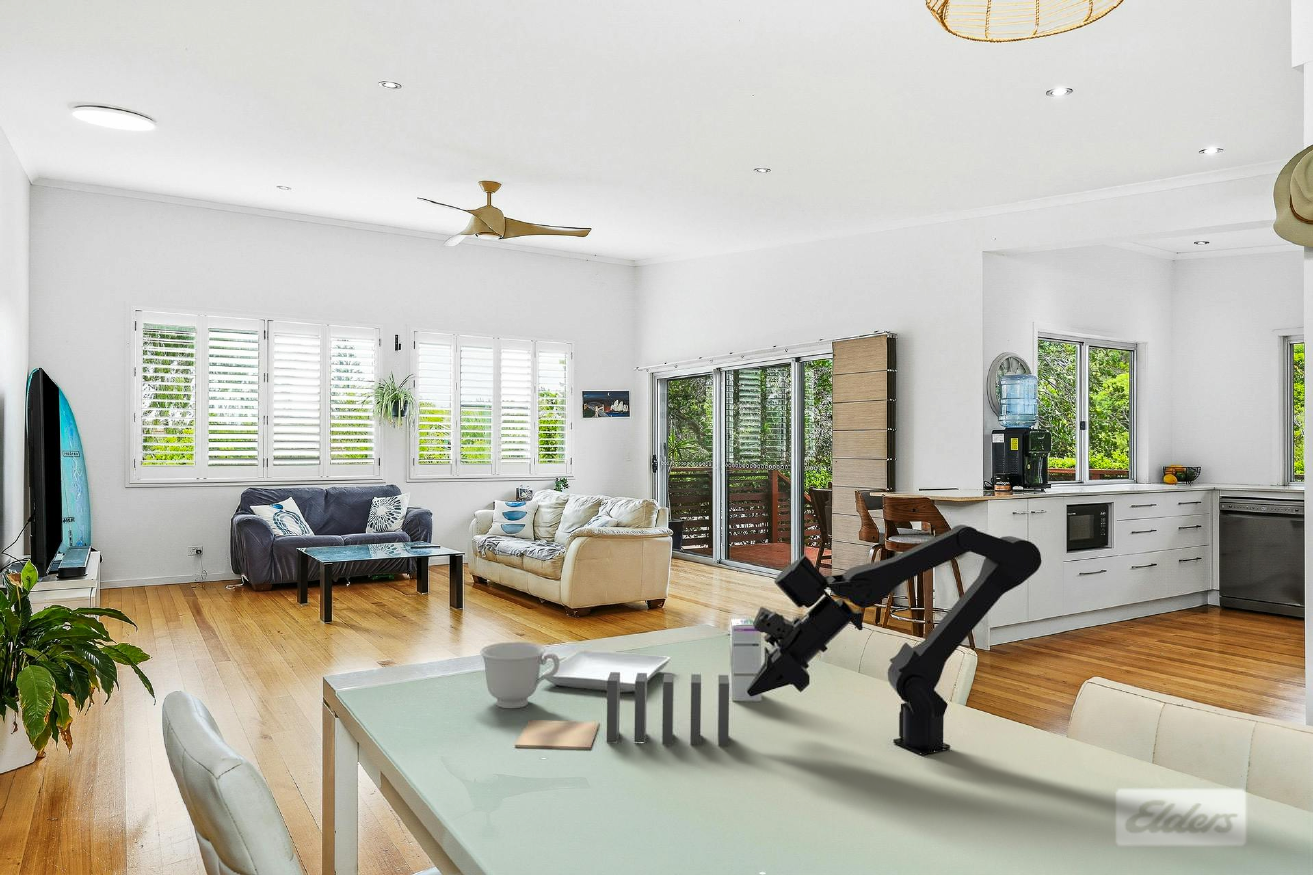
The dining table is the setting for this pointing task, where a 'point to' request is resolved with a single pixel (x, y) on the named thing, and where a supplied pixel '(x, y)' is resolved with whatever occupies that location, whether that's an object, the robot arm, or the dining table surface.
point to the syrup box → (744, 658)
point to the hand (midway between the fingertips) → (748, 693)
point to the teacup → (515, 671)
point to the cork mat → (558, 734)
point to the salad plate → (605, 669)
